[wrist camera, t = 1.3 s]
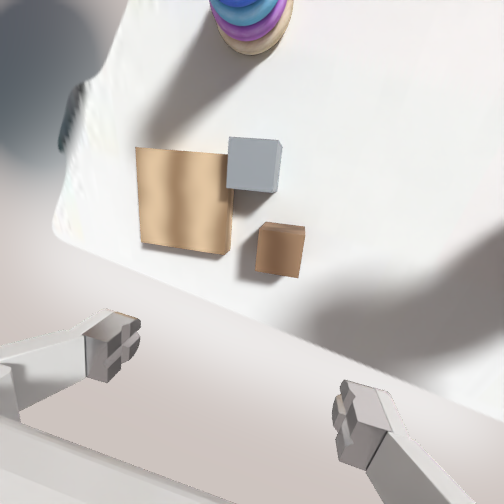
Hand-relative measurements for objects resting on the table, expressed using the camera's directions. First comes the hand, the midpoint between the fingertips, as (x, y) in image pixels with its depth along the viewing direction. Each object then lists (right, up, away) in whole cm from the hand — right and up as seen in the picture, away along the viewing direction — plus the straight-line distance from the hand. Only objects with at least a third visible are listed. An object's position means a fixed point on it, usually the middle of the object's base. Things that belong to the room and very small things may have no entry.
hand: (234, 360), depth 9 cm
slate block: (+2, +15, +19) cm, 24 cm away
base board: (-8, +11, +22) cm, 26 cm away
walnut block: (+5, +5, +21) cm, 23 cm away
